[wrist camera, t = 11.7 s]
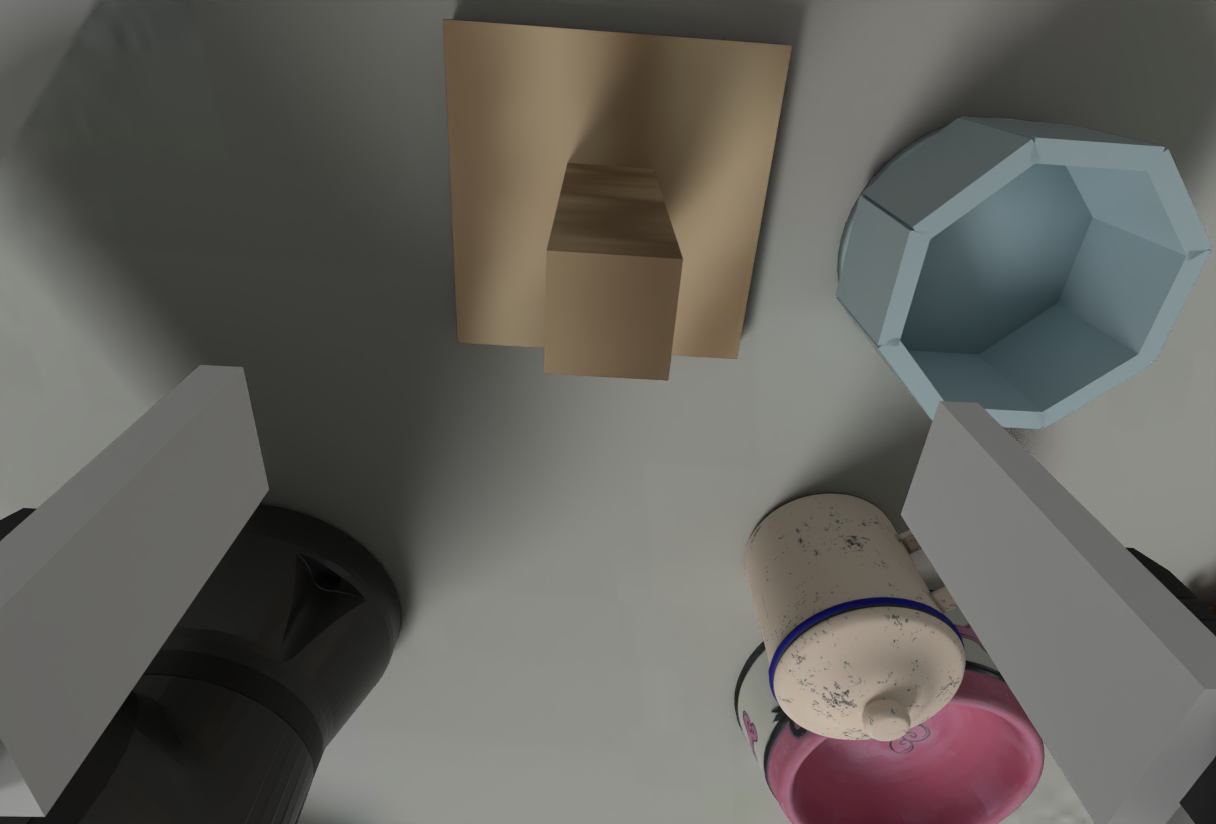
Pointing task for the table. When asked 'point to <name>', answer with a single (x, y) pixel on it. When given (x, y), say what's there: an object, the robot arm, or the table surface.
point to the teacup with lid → (850, 620)
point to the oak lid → (607, 191)
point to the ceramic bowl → (1020, 264)
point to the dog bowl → (900, 754)
